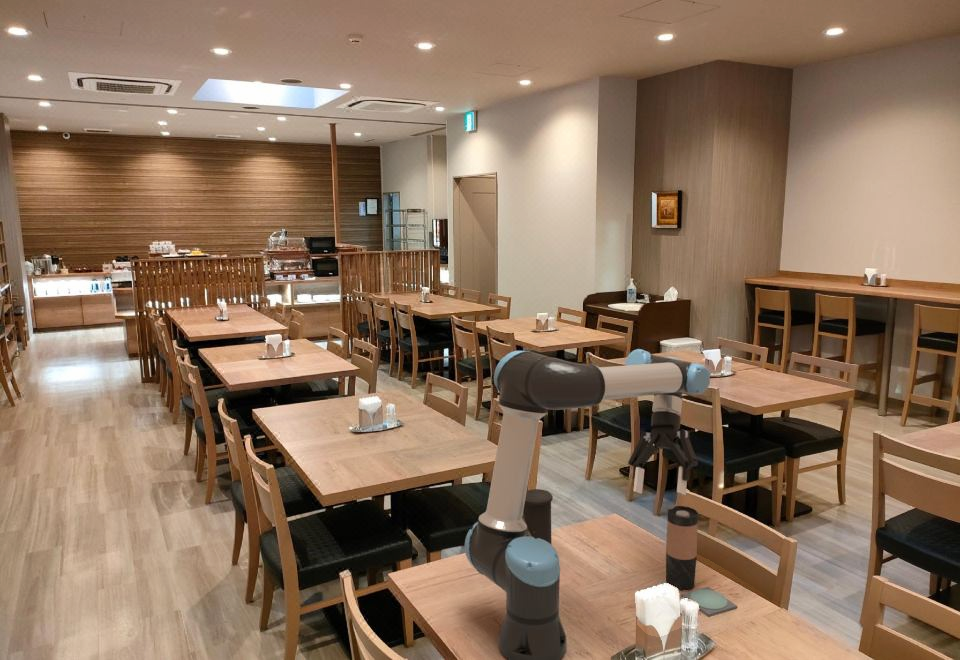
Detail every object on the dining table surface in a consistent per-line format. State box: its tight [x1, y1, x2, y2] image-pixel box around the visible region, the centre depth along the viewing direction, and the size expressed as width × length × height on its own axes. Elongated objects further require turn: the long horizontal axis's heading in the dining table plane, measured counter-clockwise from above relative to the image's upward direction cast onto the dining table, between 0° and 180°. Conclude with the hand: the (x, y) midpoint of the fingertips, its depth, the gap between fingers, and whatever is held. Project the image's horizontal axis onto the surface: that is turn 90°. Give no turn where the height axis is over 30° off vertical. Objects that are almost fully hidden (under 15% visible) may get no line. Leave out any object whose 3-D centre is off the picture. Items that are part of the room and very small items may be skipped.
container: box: [522, 488, 553, 546], centre depth 190 cm, size 9×9×20 cm
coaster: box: [680, 586, 738, 618], centre depth 169 cm, size 9×10×1 cm
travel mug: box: [665, 505, 699, 592], centre depth 176 cm, size 8×8×20 cm
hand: (658, 493), depth 175 cm, fingers open, 13 cm apart
